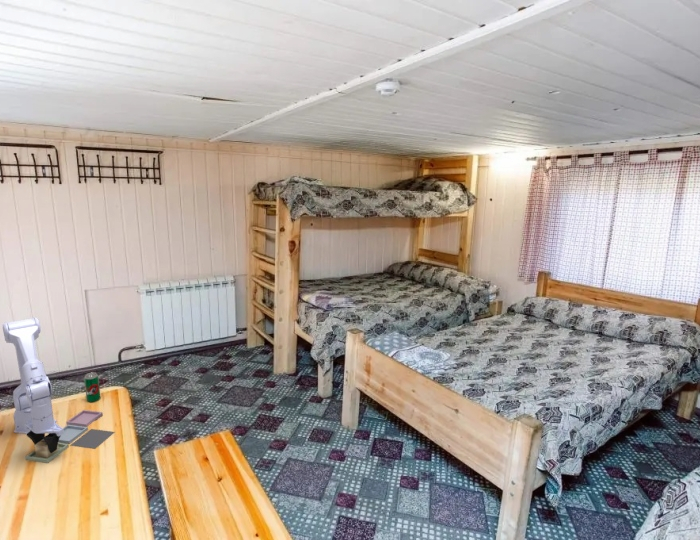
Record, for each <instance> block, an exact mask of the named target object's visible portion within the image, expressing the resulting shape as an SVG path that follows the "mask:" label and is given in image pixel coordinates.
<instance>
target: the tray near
mask: <svg viewBox="0 0 700 540" xmlns="http://www.w3.org/2000/svg"><path fill="white" fill-rule="evenodd" d="M58 446H59V450H58V451H57V452H56V453H54V454H53V455H52V456H50V457H49V458H42V457H36V452H35V449H34V450H33V451H32V452H30V453H28V454H27V455H26V456H25V459H24V460H25V461H30V462H35V463H36V462H38V463H44V464H49V463H50V462H52V461H53V460H54V459H55V458H56V457H58V456H60V454H62V453H63V452H64V451H65V450H67V449H68V448H69V446H70V444H66V443H58Z"/></svg>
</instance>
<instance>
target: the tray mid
mask: <svg viewBox="0 0 700 540" xmlns="http://www.w3.org/2000/svg"><path fill="white" fill-rule="evenodd" d="M88 427H89V426H87V427H82V426H74V425H67V424H66V425H65V426H63V428H64V434H62V435H61V436H60V438H59V441H58V443H63V444H68V445H71V444H72V443H74V442H75V441H76V440H78V439H79V438H80V437H82V436H83V435H84V434H85V433H87V432H88V431H89V428H88Z"/></svg>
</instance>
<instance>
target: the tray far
mask: <svg viewBox="0 0 700 540" xmlns="http://www.w3.org/2000/svg"><path fill="white" fill-rule="evenodd" d="M103 414H104V413H103V411H96V410H87V409H83V410H82V411H80V412H78V413H76V415H74V416H73V417H71V418H70V419H68V420H67V421H66V426H67V425H74V426H81V427H89V425H91V424H93V422H96V421H98V420H99V419H100V418H101V417H103V416H104V415H103Z"/></svg>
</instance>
